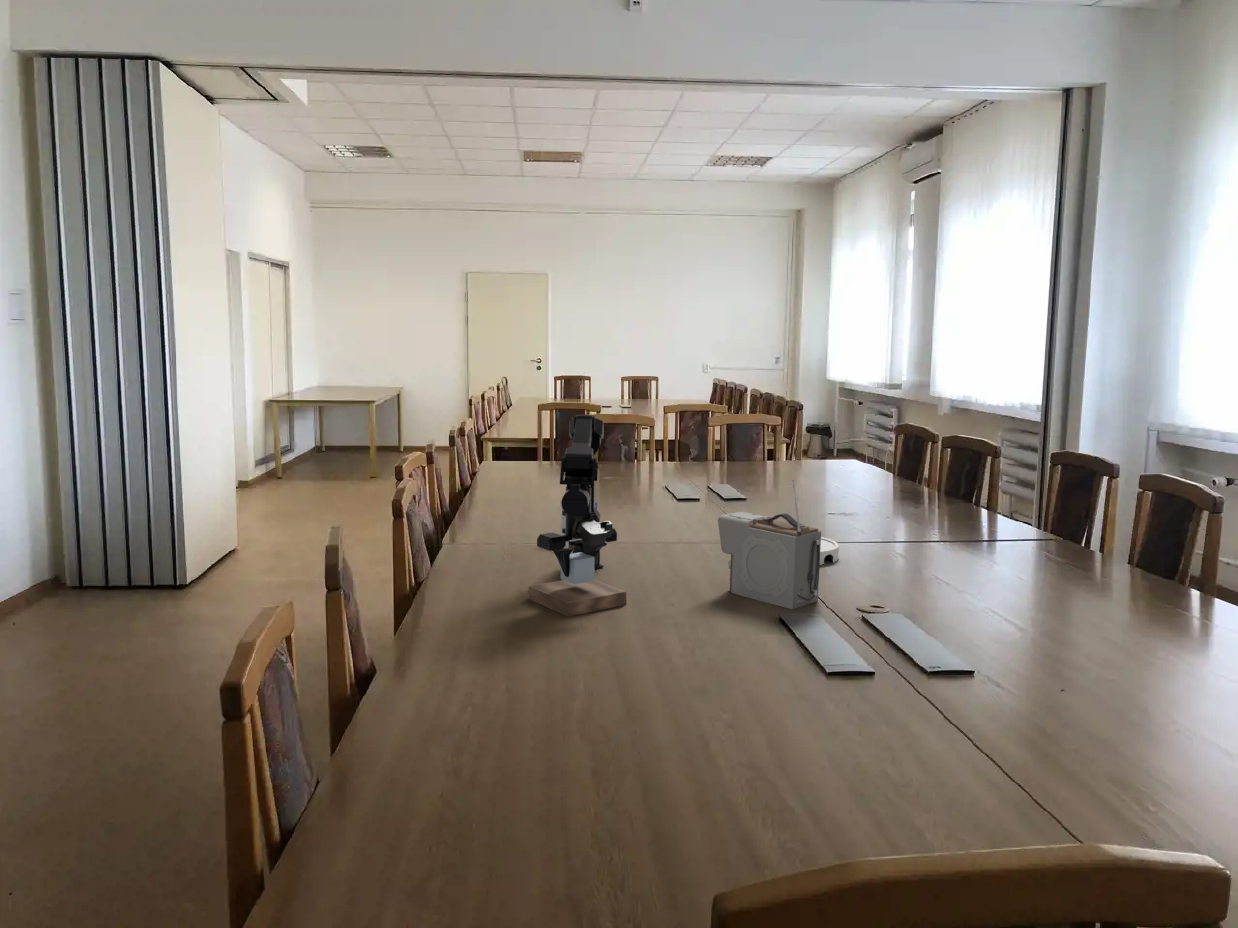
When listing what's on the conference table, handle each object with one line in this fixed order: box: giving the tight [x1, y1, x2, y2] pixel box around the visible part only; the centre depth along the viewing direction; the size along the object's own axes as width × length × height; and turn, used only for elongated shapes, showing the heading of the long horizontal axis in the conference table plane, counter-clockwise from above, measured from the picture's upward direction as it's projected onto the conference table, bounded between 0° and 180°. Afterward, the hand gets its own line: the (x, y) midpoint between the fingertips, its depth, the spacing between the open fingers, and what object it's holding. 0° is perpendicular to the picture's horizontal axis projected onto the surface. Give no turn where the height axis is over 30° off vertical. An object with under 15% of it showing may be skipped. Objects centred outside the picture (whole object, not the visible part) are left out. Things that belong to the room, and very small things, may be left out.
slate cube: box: [560, 552, 595, 584], centre depth 206 cm, size 6×6×6 cm
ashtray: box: [820, 536, 840, 566], centre depth 256 cm, size 23×23×4 cm
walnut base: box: [528, 578, 627, 617], centre depth 207 cm, size 16×16×3 cm
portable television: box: [717, 478, 822, 610], centre depth 213 cm, size 12×24×30 cm, turn 45°
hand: (577, 574), depth 207 cm, fingers closed on slate cube, 5 cm apart
